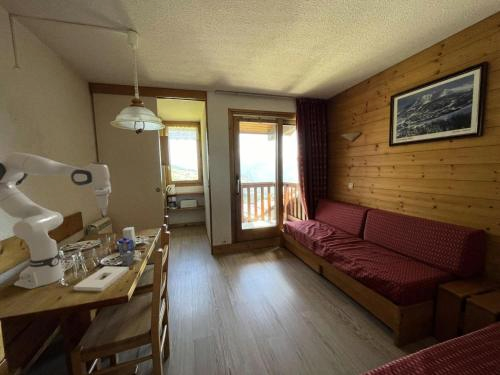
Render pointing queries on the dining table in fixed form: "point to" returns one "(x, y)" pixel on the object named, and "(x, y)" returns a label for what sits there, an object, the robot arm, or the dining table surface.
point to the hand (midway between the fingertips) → (104, 213)
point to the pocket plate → (99, 285)
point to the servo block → (127, 258)
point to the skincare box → (129, 234)
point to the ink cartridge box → (126, 245)
